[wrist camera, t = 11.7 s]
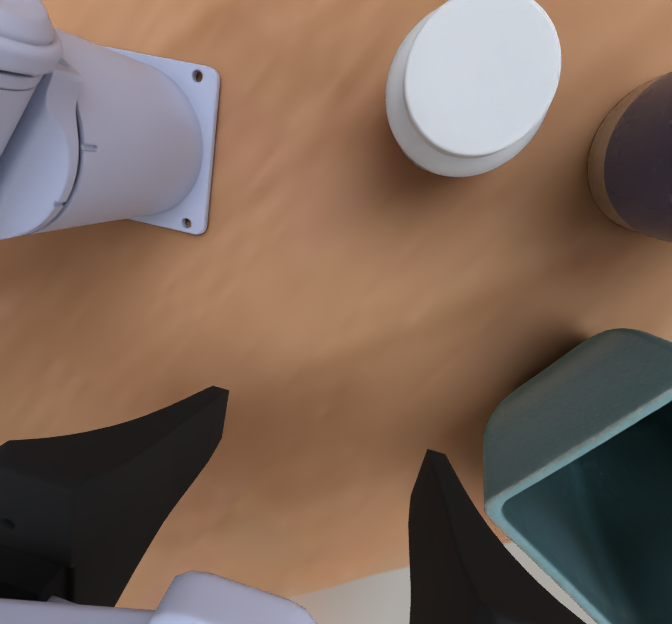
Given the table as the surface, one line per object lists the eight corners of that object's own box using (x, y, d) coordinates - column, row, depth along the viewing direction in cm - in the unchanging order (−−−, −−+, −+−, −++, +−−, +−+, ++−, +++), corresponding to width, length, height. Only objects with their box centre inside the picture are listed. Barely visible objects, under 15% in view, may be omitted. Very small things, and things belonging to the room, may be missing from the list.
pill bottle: (371, 96, 20) (340, 43, 11) (476, 20, 18) (529, -106, 10) (428, 197, 21) (437, 215, 12) (532, 132, 19) (624, 104, 11)
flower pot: (454, 389, 24) (477, 510, 15) (597, 281, 21) (723, 358, 12) (559, 494, 24) (636, 663, 16) (710, 405, 22) (901, 556, 13)
